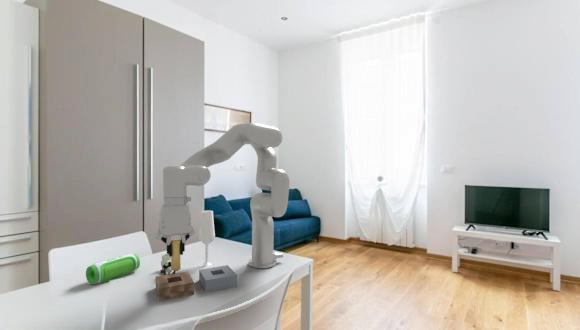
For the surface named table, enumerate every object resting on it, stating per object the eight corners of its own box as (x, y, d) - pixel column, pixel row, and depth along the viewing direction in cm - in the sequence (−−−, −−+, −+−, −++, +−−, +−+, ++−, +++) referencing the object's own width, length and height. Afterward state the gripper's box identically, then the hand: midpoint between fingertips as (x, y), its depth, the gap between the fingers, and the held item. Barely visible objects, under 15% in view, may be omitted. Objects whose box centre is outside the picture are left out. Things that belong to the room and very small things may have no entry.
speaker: (130, 268, 129) (130, 251, 129) (140, 272, 125) (140, 254, 125) (84, 283, 114) (84, 263, 114) (95, 287, 110) (95, 267, 110)
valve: (157, 270, 128) (160, 280, 117) (157, 254, 128) (160, 263, 117) (174, 267, 131) (178, 277, 120) (174, 252, 131) (178, 261, 120)
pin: (179, 266, 108) (179, 238, 108) (181, 269, 106) (180, 240, 105) (170, 268, 107) (170, 239, 107) (171, 271, 104) (171, 242, 104)
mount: (188, 284, 114) (188, 271, 114) (194, 297, 104) (194, 282, 104) (155, 290, 108) (155, 276, 108) (158, 304, 99) (158, 288, 99)
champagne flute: (216, 264, 136) (216, 210, 135) (212, 269, 129) (213, 212, 128) (200, 264, 136) (201, 209, 135) (196, 269, 129) (197, 212, 128)
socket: (227, 277, 121) (227, 265, 121) (236, 288, 111) (236, 274, 111) (199, 282, 116) (199, 269, 115) (206, 294, 106) (206, 280, 106)
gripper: (197, 198, 113) (197, 248, 113) (148, 201, 105) (149, 255, 106) (201, 201, 106) (202, 254, 107) (149, 205, 98) (150, 261, 99)
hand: (175, 254), depth 106 cm, fingers closed on pin, 3 cm apart
